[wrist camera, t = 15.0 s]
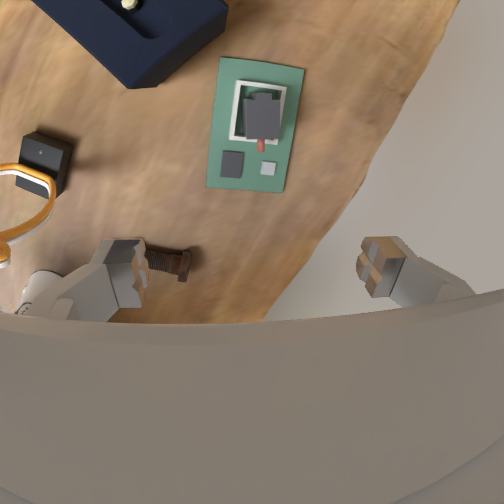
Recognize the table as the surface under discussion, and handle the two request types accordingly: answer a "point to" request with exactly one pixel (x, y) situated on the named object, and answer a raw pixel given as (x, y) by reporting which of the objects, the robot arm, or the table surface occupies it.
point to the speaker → (140, 33)
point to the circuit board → (230, 126)
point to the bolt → (170, 263)
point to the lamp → (36, 182)
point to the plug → (261, 118)
